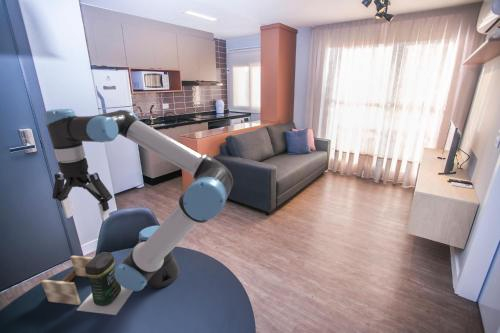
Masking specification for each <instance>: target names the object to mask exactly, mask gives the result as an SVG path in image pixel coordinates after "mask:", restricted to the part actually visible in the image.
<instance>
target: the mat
mask: <svg viewBox="0 0 500 333" xmlns="http://www.w3.org/2000/svg"><path fill="white" fill-rule="evenodd" d="M120 286H121V285H120ZM133 292H134V291H132V290H128V289H125V288H124V287H122V286H121V291H120V293H119V295H118V296H117V297H116V298H115V299H114V301H113V302H112V303H110V304H109V305H106V306H99V305H96V304H94V301H93V295H92V292H91V293H90V294H89V295H88V296H87V297H86V298H85V299H84V301H83V302H82V303H80V304H79V307H77V308H76V311H79V312H86V313H87V312H88V313H95V314H105V315H113V316H116V315H117V314H118V313H119V312H120V311H121V309H122V307H123V306H124V304H125V303H126V302H127V300H128V299H129V298H130V296H131V294H133Z"/></svg>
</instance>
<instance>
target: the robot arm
mask: <svg viewBox="0 0 500 333" xmlns="http://www.w3.org/2000/svg"><path fill="white" fill-rule="evenodd" d="M44 120H45V126H46V128H47V131H48V134H49V138H50V140H51V145H52V147H53V151H54V154H55V159H56V161H57V162H58V163H57V166H58V169H59V172H57V173H55V174H54V186H53V190H52V199H53V200H55V199H56V200H57V201H58V202H59V204H60V207H61V208H62V210H63V212H64V216H65V218H66V219H70V218H72V216H74V215H75V212H74V209H73V206H72V202H71V198H70V197H69V194H70V193H71V190H72V189H73V188H76V187H77V188H82V189H84V190H86V191H87V192H89V194H90V195H92V196H93V197H94V198H95V199H96V200H97V201H98V203H97V205H98V210H99V214H100V218H101V221H103V222H104V221H106V220H107V219H108V218H110V213H109V209H110V207H109V201H110V200H112V199H113V195H112V193H110V191H109V190H108V188H107V187H106V185H105V184H104V183H103V180H102V181H101V179H100V175H99V173H98V172H94V173H89V171H88V169H89V164H88V160H87V158H86V153H85V152H86V151H85V149H84V145H83V142H86V143H87V142H88V143H90V142H91V143H92V142H93V143H94V142H95V143H106V142H113V141H115V139H116V138H117V137H118V135H120V136H122V137H124V138H125V139H128V140H130V141H131V142H133V143H135V144H136V145H138V146H140V147H141V148H144V149H145V150H148V151H149V152H151V153H153V154H154V155H157V156H158V157H160V158H161V159H164V160H166V161H167V162H169V163H171V164H173V165H175V166H177V167H178V168H180V169H182V170H184V171H185V172H187V173H189V174H190V175H191V178H192V179H194V180H193V181H192V182H191V183H190V184H189V186H187V188H186V190H184V192H183V193H182V194H181V195H180V196H179V197H178V202H177V203H178V205H177V207H176V208H174V210H173V211H171V213H170V214H169V215H168V217H166V218H165V220H164V221H163V222H162V223H161V224H160V225H152V226H147V227H145V228H143V229H141V230H140V231H139V233H138V243H137V244H136V245H135V246H134V247H133V248H132V249H131V250H130V252H129V253H128V254H127V255H126V256H125V257H124V258H123V259H122V260H121V261H120V263H118V265H117V267H116V268H115V272H114V276H115V278H116V281H117V282H118V283H119V284H120V285H121V286H122V287H124V288H125V289H128V290H132V291H133V292H139V291H142V290H143V289H144V288H145V287H147V288H149V289H161V288H165V287H167V286H169V285H170V284H172V283H174V282H175V281H176V279H177V278H178V277H179V275H180V268H179V266H180V265H179V264H178V262H177V261H176V259H175V258H174V255H173V250H174V248H175V247H177V245H178V244H179V243H181V242H182V240H184V239H185V237H186V236H187V235H188V234H189V233H190V232H192V230H193V229H194V228H196V226H197V225H198V224H204V223H205V224H206V223H207V222H208V221H210V220H212V219H214V218H216V217H217V216H218V215H219V214H220V213H221V212H222V210H223V209H224V208H225V205H226V204H227V200H228V197H229V195H230V193H231V191H232V188H233V186H234V178H233V175H232V173H231V171H230V170H229V169H228V168H227V166H225V165H224V164H223V163H222V162H220V161H218V159H215V158H214V157H212V156H210V155H208V154H206V153H205V154H200V153H199V152H198V151H197V152H196V151H195V150H193V149H191V148H190V147H188V146H186V145H184V144H182V143H180V142H179V141H177V140H175V139H173V138H172V137H169V136H168V135H166V134H164V133H163V132H161V131H159V130H157V129H155V128H153V127H152V126H149V125H147V124H146V123H145V122H143V121H140V120H139V119H138V116H137V115H136V114H135V112H134V111H132V110H129V109H119V110H114V111H111V112H106V113H102V114H101V113H100V114H96V115H90V116H88V115H87V116H86V115H85V116H82V115H81V116H79V115H78V116H77V114H76V113H75V110H74V109H72V108H56V109H49V110H46V111H45V112H44Z"/></svg>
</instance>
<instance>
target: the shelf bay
mask: <svg viewBox="0 0 500 333" xmlns="http://www.w3.org/2000/svg"><path fill="white" fill-rule="evenodd" d="M94 257H95V256H94ZM94 257H93V256H82V255H71V256H70V258H69V259H70V261H71V264H72V267H73V270H71V271H69V273H67V274H66V275H65V276H64V277H63V278H62V279H60V280H54V279H53V280H52V279H51V280H50V279H44V278H43V279H42V280H40V282H41V285H42V288H43V290H44V292H45V296H46V297H47V301H48V302H50V303H58V304H59V303H60V304H65V305H67V304H68V305H77V306H80V305H81V304H82V303H81V299H80V296H79V292H78V290H77V286H76V284H75V283H76V282H75V281H73V282H72V280H73V279H75V277H88V276H87V275H86V271H85V265H86V264H87V263H88V262H89V261H90V260H92V259H93V258H94ZM88 278H89V277H88Z"/></svg>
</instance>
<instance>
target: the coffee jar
mask: <svg viewBox="0 0 500 333" xmlns="http://www.w3.org/2000/svg"><path fill="white" fill-rule="evenodd" d="M115 260H116V259H115V258H114V255H113V254H112V253H111V252H108V251H107V252H106V251H101V252H100V253H98V254H96V255H95V256H94V258H93V259H92V260H90V261H89V262H88V263H87V264H86V265H85V271H86V275H87V276H88V279H89V283H90V287H91V288H90V289H91V293H92V295H93V301H94V304H96V305H99V306H106V305H109V304H110V303H112V302H113V301H114V299H115V298H116V297H117V296H118V295H119V293H120V291H121V286H120V284H119V283H118V282H117V281H116V278H115V276H114V272H115V269H116V268H115V264H116V263H115V262H116V261H115Z"/></svg>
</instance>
